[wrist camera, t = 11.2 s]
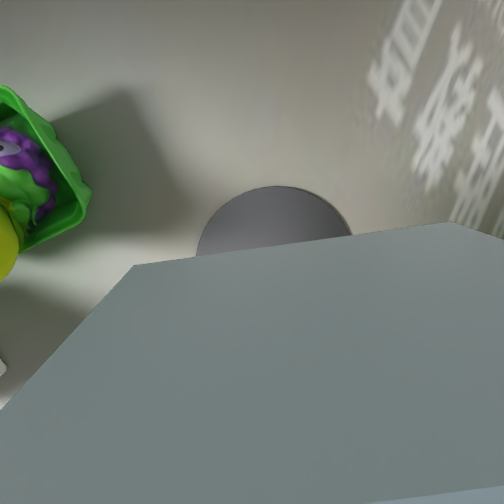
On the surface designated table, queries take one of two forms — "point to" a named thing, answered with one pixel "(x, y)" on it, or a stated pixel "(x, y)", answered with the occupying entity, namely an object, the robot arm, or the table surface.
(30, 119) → the fruit basket
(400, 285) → the pale blue cube
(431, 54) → the table surface
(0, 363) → the medicine bottle
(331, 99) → the table surface
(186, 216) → the table surface
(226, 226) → the disc
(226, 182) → the table surface
